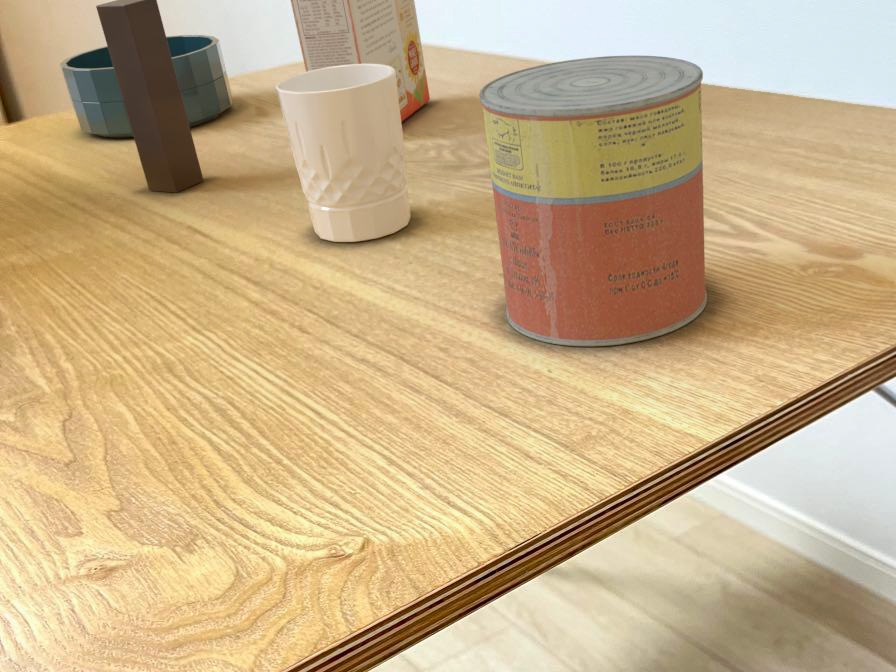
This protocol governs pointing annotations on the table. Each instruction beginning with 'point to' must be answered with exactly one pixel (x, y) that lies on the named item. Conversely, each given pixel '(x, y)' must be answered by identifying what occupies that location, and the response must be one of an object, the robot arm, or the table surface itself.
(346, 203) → the white cup
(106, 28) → the stick
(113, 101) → the bowl
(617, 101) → the canned food
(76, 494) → the table surface
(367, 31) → the cracker box
